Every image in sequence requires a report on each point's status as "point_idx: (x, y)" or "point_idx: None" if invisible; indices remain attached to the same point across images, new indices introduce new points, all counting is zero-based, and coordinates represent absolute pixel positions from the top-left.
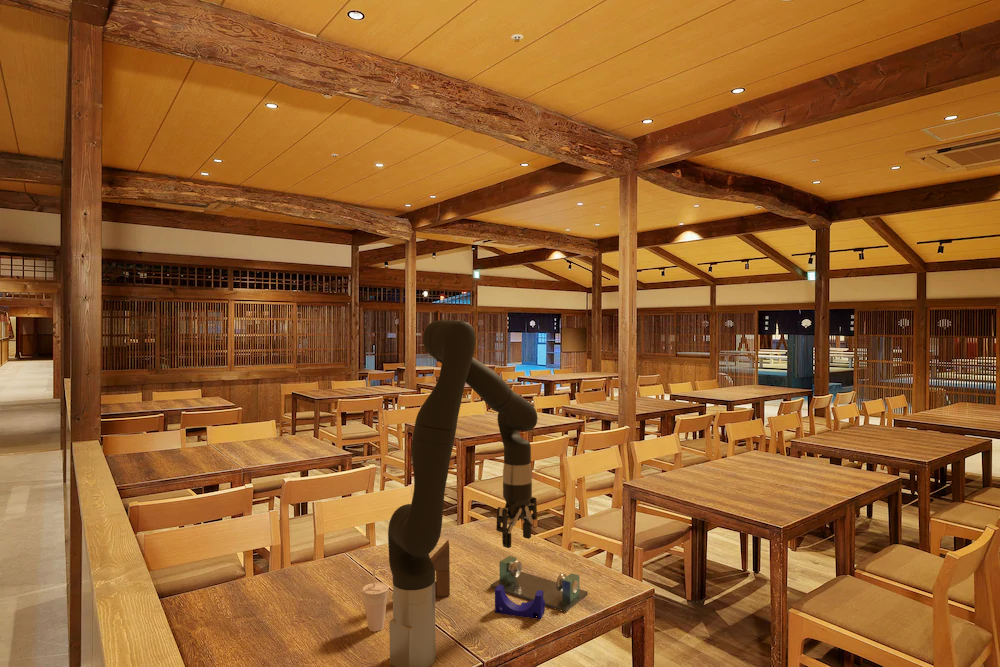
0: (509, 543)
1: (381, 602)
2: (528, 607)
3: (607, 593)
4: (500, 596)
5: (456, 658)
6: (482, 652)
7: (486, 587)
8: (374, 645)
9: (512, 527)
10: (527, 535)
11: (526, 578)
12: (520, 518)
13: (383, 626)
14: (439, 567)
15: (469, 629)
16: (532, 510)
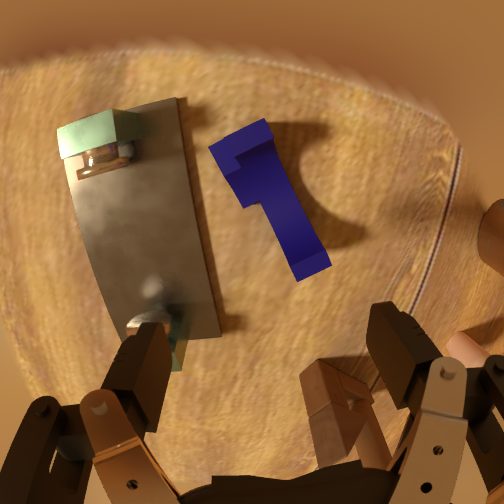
0: (401, 316)
1: (487, 355)
2: (270, 162)
3: (34, 108)
4: (320, 242)
5: (476, 178)
6: (446, 149)
7: (228, 338)
8: (487, 303)
9: (425, 399)
10: (160, 344)
11: (126, 298)
12: (288, 483)
13: (455, 335)
14: (348, 413)
15: (403, 230)
16: (48, 479)
